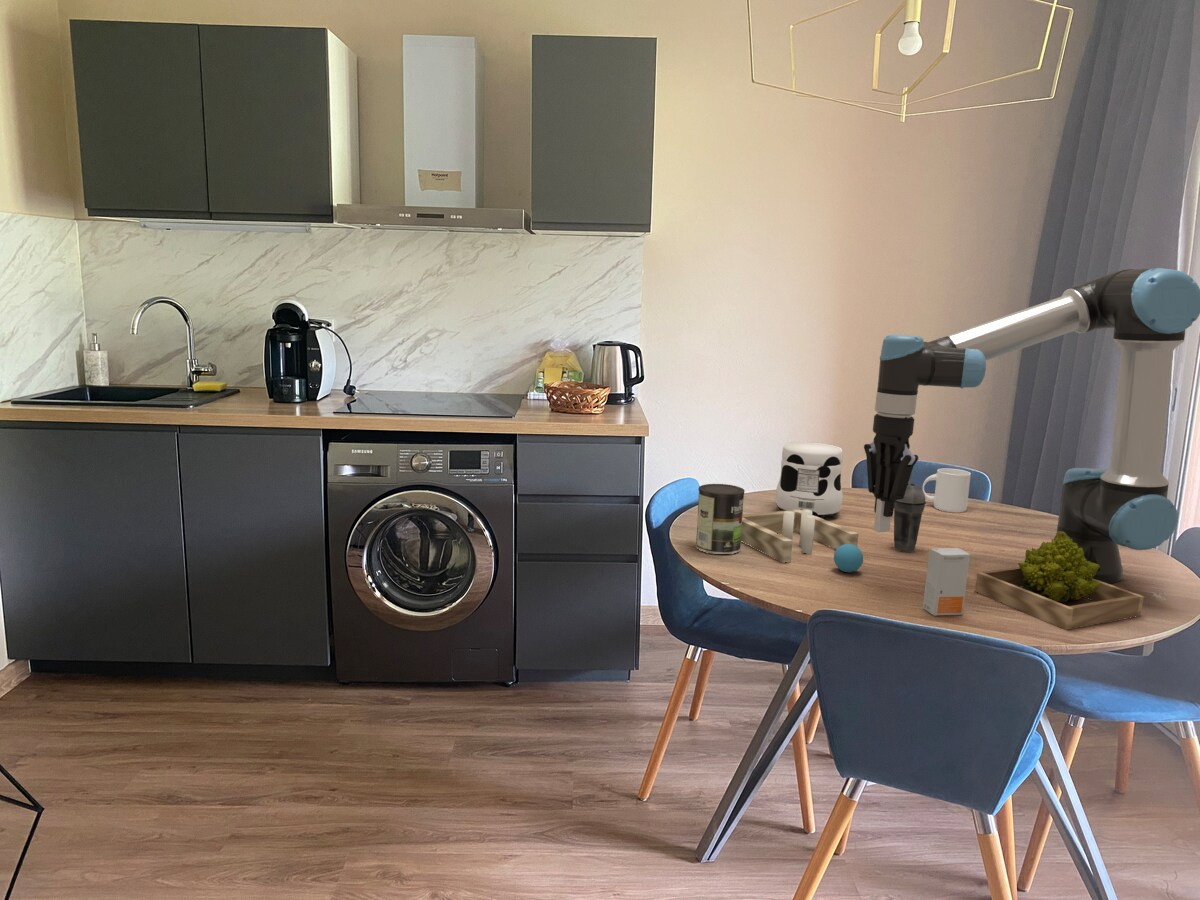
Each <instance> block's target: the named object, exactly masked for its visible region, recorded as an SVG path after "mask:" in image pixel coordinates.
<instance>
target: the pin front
mask: <svg viewBox="0 0 1200 900" xmlns="http://www.w3.org/2000/svg"><path fill="white" fill-rule="evenodd" d="M814 525H815V516H813V515H804V525H803V538H802V547H801V552H800V553H802V554H804V553H806V554H805V555H812V554H813V549H814V548H813V547H814V540H813V537H814ZM811 553H812V554H811Z"/></svg>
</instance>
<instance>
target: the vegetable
mask: <svg viewBox="0 0 1200 900" xmlns="http://www.w3.org/2000/svg"><path fill="white" fill-rule="evenodd" d="M1056 533H1057V534H1056ZM1056 533H1055V536H1056V537H1055V536H1054V537H1053V538H1052V539H1051V541H1046V542H1045V541H1042V542H1041V544H1040V546H1039V547H1037V549H1036V548H1034V547H1031V549H1026V550H1025V555H1024V556H1025V558H1024V562H1017V565H1018V567H1020V569H1021V571H1022V572H1023V576H1024V577H1025V578H1024V580H1023V582H1024V583H1025V584H1023V586H1022V587H1021V588H1023V589H1025V590H1028V591H1031V592H1033V593H1036V594H1038V595H1041V596H1043V597H1046V598H1048V599H1051V600H1054V601H1056V602H1062V603H1064V602H1067V601H1068V600H1078V601H1079V600H1080V599H1082V598H1085V597H1088V594H1092V592H1094V591H1095V590H1096V589H1097V588H1098V587H1099V586H1100V585H1101V583H1098V582H1096V581H1093V580H1092V579H1093V578H1092V577H1093V576H1095V575H1096V574H1095V573H1096V571H1097V570H1098V569H1099V567H1100V565H1098V564H1096V563H1091V562H1090V561H1088V562H1087V560H1086V559H1085V557H1084V552H1083V548H1082V547H1081V548H1078V546H1077V544H1076V543H1073V539H1070V537H1068V536H1067V534H1066V533H1065V532H1063V531H1058V532H1057V531H1056Z"/></svg>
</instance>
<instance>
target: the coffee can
mask: <svg viewBox="0 0 1200 900" xmlns="http://www.w3.org/2000/svg"><path fill="white" fill-rule="evenodd" d="M745 492H746V491H745V489H744V487H743V488H742V487H740V486H738V485H732V484H725V483H707V484H702V485H699V486H698V503H697V504H698V505H697V520H696V521H697V526H696V542H695V548H696V547H697V548H698V549H700V550H702V551H705V552H708V553H715V554H732V553H736V552H738V551H740V552H741V550H740V549H741V545H742V544H741V543H742V542H741V529H742V515H743V512H744V499H745ZM708 553H707V554H708ZM736 554H737V553H736ZM732 555H733V554H732Z"/></svg>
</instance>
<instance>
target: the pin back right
mask: <svg viewBox="0 0 1200 900" xmlns="http://www.w3.org/2000/svg"><path fill="white" fill-rule="evenodd" d="M804 515H812V510H807V509H804V510H802V513H801V526H800V533H799V539H798V540H799V541H798V547H800V548H802V538H803V525H804Z"/></svg>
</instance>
